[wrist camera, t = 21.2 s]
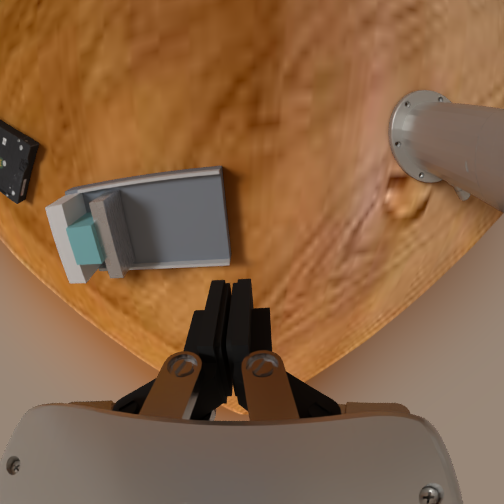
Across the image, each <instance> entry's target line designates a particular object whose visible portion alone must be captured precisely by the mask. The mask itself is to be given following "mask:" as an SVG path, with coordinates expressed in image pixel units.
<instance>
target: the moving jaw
mask: <svg viewBox="0 0 504 504" xmlns="http://www.w3.org/2000/svg"><path fill="white" fill-rule="evenodd" d="M89 205H90V209H91V213H92V217H93V221H94V225H95V229H96V233H97V236H98V240H99V243H100V247H101V250H102V254H103V257H104V260H105V263H106V267H107V270H108V273H109V276H110V278H124V276H125V275H126V273H127V272H128V270H129V269H130V268H131V266H132V265H133V263H134V262H135V256H134V253H133V249H132V245H131V241H130V237H129V233H128V229H127V224H126V220H125V215H124V211H123V206H122V202H121V197H120V192H119V190H114V191H108V192H105V193H103V194H102V195H100V196H99V197H97V198H96V199H94V200H93V201H91V202H90V203H89Z"/></svg>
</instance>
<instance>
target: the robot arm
mask: <svg viewBox="0 0 504 504" xmlns="http://www.w3.org/2000/svg"><path fill="white" fill-rule="evenodd" d="M405 103H406V106H405ZM389 143H390V146H391V150H392V153H393V155H394V158H395V160H396V161H397V163H398V164H399V166H400V167H401V168H402V169H403V170H404V171H405V172H406V173H407V174H408V175H410V176H411V177H413V178H415V179H417V180H419V181H422V182H428V183H433V182H439V181H441V180H445V181H447V182H448V183H449V185H451V186H453V187H454V188H455V191H456V193H457V195H458V197H459V198H460V200H462V201H465V200H467V199H468V198H469V197H470V194H471V195H473V196H475V197H477V198H479V199H480V200H482V201H484V202H486V203H487V204H489V205H491V206H493V207H494V208H496V209H498V210H499V211H501V212H503V213H504V109H500V108H494V107H486V106H478V105H469V104H459V103H452V102H451V101H450V100H448V99H447V98H446V97H445V96H443V95H441V94H440V93H437V92H434V91H429V90H418V91H414V92H411V93H409V94H407V95H406V96H404V97H403V98H402V99H401V100H400V101H399V102H398V104H397V105H396V107H395V108H394V110H393V113H392V115H391V119H390V123H389ZM395 143H397V144H396V145H395ZM419 174H420V175H419ZM232 387H234V392H235V396H237V398H238V403H239V405H241V406H242V407H243V408H244V409H246V410H247V411H248V413H249V418H250V421H214V418H215V415H216V408H217V407H219V406H220V405H221V404H222V403H227V396H232ZM421 489H422V490H421ZM0 504H463V501H462V496H461V492H460V488H459V484H458V480H457V477H456V474H455V470H454V468H453V464H452V461H451V458H450V456H449V453H448V451H447V449H446V446H445V444H444V442H443V440H442V438H441V436H440V434H439V433H438V431H437V430H436V428H435V427H434V426H433V425H432V424H431V423H430V422H429V421H428V420H426V419H425V418H422V417H420V416H416V415H413V414H410V412H409V410H408V409H407V408H406V407H405V406H403V405H401V404H398V403H358V402H347V403H346V405H345V404H337V403H336V402H335V401H334V400H332V399H331V398H329V397H327V396H326V395H324V394H322V393H320V392H319V391H317V390H315V389H314V388H312V387H310V386H309V385H307V384H306V383H304V382H302V381H301V380H299V379H297V378H296V377H294V376H293V375H291V374H289V373H288V372H286V371H285V367H284V364H283V361H282V359H281V357H280V356H279V355H277V354H276V353H274V352H272V342H271V323H270V308H255V309H253V297H252V286H251V279H238V283H233V288H232V295H231V288H230V283H225V280H214V281H212V282H211V286H210V290H209V294H208V298H207V302H206V307H205V310H196V311H194V314H193V318H192V321H191V325H190V329H189V332H188V336H187V340H186V344H185V347H184V351H182V352H178V353H175V354H173V355H171V356H170V357H168V358H167V359H166V361H165V362H164V364H163V366H162V368H161V370H160V372H159V374H158V376H157V378H156V379H154V380H152V381H151V382H149V383H147V384H145V385H144V386H142V387H140V388H138V389H137V390H135V391H133V392H132V393H130V394H128V395H126V396H125V397H123V398H121V399H120V400H118V401H117V402H116V403H113V401H90V402H89V401H88V402H87V401H86V402H71V403H68V404H67V403H50V404H42V405H38V406H35V407H33V408H31V409H30V410H28V411H27V412H26V413H25V415H24V416H23V417H22V418H21V420H20V422H19V423H18V425H17V427H16V428H15V430H14V432H13V434H12V436H11V438H10V440H9V442H8V444H7V447H6V449H5V452H4V454H3V456H2V459H1V462H0Z"/></svg>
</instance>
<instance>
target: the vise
mask: <svg viewBox="0 0 504 504" xmlns="http://www.w3.org/2000/svg"><path fill="white" fill-rule="evenodd" d="M114 190H119V192H120V197H121V202H122V206H123V211H124V215H125V220H126V224H127V229H128V233H129V237H130V241H131V245H132V249H133V253H134V256H135V262H134V263H133V265H132V266H131V268H130V269H129V270H139V269H162V268H184V267H205V266H225V265H230V260H231V247H230V238H229V229H228V220H227V210H226V201H225V191H224V181H223V172H222V166H214V167H203V168H194V169H185V170H177V171H169V172H161V173H154V174H147V175H140V176H134V177H127V178H121V179H115V180H110V181H104V182H99V183H93V184H88V185H83V186H78V187H73V188H71V189H69V190H67V191H65V194H66V195H65V196H63V197H62V198H60V199H58V200H57V201H55V202H53V203H52V204H50V205H48V206H47V207H45V209H46V212H47V216H48V220H49V223H50V227H51V230H52V233H53V237H54V240H55V243H56V246H57V249H58V252H59V255H60V258H61V261H62V264H63V267H64V269H65V272H66V275H67V277H68V280H69V283H87V281H88V280H89V279H90V278H91V277H92V275H93V274H94V273H95V272H96V270H97V269H98V268H99V271H108V270H107V267H106V263H105V261H104V262H103V263H102V264H85V265H77V263H76V260H75V257H74V254H73V251H72V248H71V245H70V241H69V238H68V235H67V231H66V228H67V227H68V226H70V225H71V224H72V223H74V222H75V221H76V220H78V219H79V218H80V217H82V216H83V215H84V214H86V213H88V212H91V209H90V205H89V203H90V202H91V201H93V200H94V199H96V198H97V197H99V196H100V195H102V194H103V193H105V192H108V191H114Z"/></svg>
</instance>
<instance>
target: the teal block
mask: <svg viewBox="0 0 504 504" xmlns="http://www.w3.org/2000/svg"><path fill="white" fill-rule="evenodd" d="M66 231H67V235H68V238H69V241H70V245H71V248H72V251H73V254H74V257H75V260H76V263H77V265H85V264H102V263H103V262H104V261H105V260H104V257H103V254H102V250H101V247H100V243H99V240H98V236H97V233H96V229H95V225H94V221H93V217H92V213H91V212H88V213H86V214H84V215H83V216H82V217H80V218H79V219H78V220H76V221H75V222H74V223H72V224H71V225H70V226H68V227H67V228H66Z"/></svg>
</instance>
